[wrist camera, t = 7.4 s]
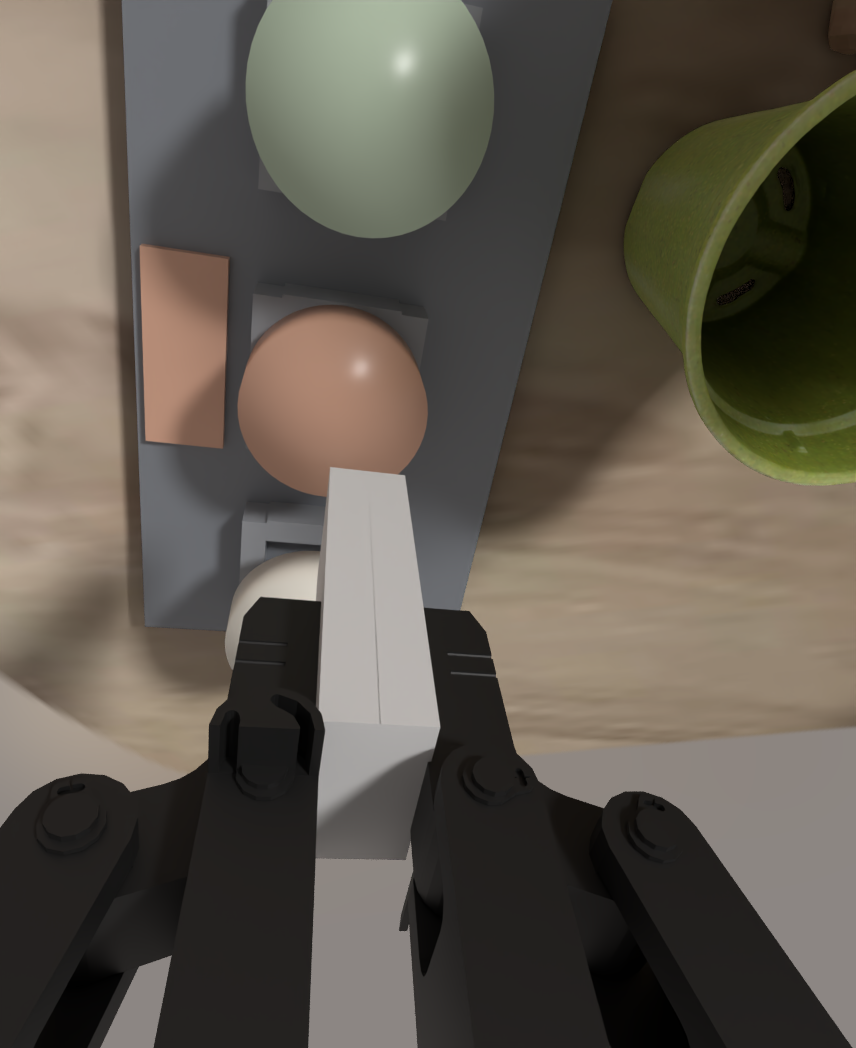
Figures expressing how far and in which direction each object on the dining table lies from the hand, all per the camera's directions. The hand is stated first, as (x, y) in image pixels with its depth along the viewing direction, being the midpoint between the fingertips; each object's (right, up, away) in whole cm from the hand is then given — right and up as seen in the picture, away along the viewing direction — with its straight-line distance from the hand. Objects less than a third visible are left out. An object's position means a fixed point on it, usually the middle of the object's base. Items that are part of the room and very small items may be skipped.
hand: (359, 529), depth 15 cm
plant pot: (+11, +10, +8) cm, 16 cm away
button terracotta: (-1, +5, +8) cm, 9 cm away
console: (-2, +6, +9) cm, 11 cm away
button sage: (0, +10, +3) cm, 11 cm away
